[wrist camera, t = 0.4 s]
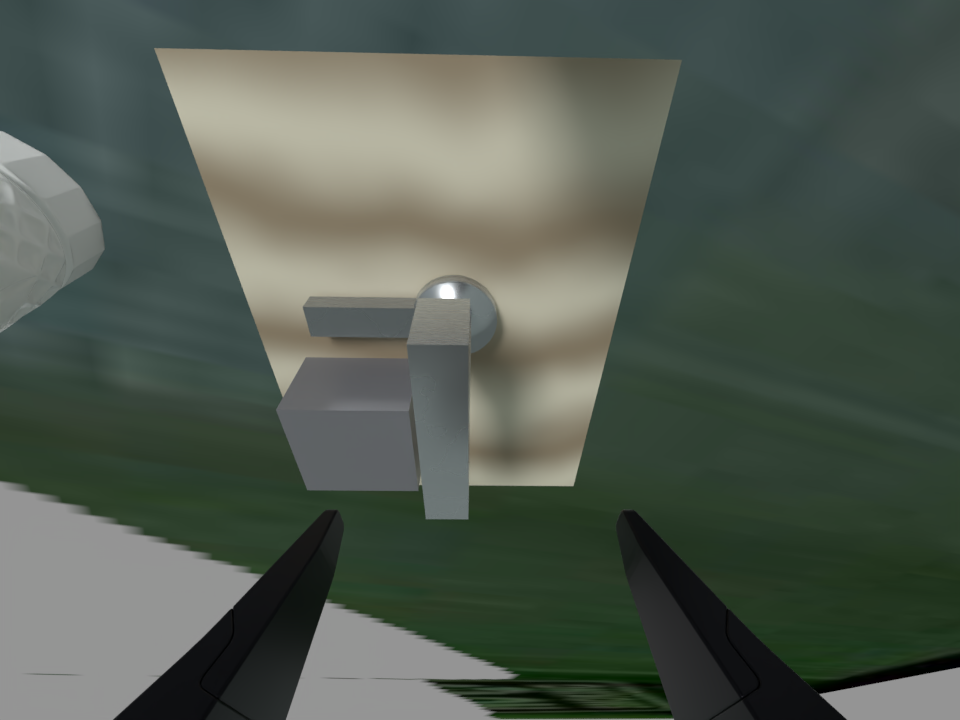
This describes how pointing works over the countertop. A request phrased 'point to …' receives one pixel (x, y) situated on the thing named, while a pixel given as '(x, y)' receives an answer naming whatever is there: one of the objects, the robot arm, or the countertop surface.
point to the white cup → (40, 230)
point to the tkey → (426, 370)
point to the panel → (437, 211)
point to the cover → (352, 424)
